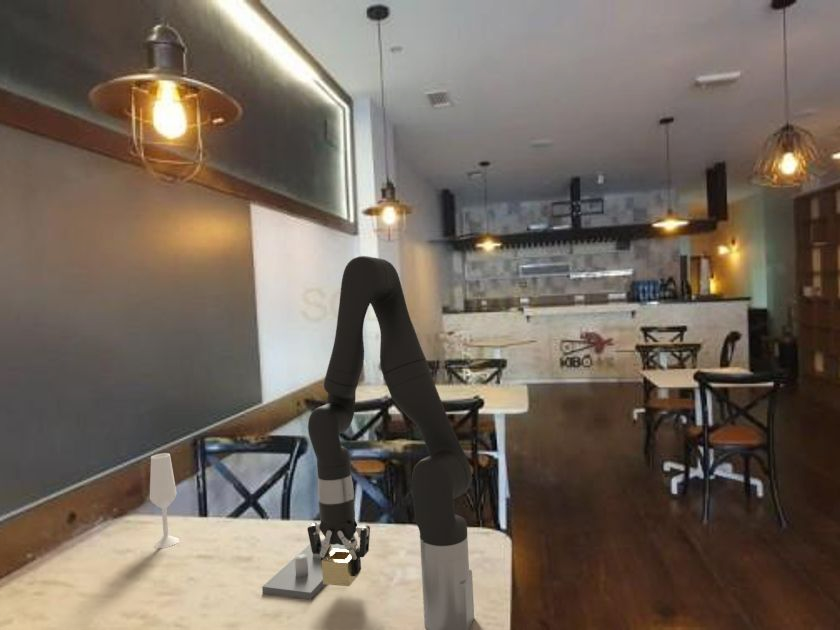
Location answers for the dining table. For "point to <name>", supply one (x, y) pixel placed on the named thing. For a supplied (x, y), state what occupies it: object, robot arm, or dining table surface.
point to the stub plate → (297, 583)
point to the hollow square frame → (338, 568)
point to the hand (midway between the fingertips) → (341, 573)
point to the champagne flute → (163, 493)
